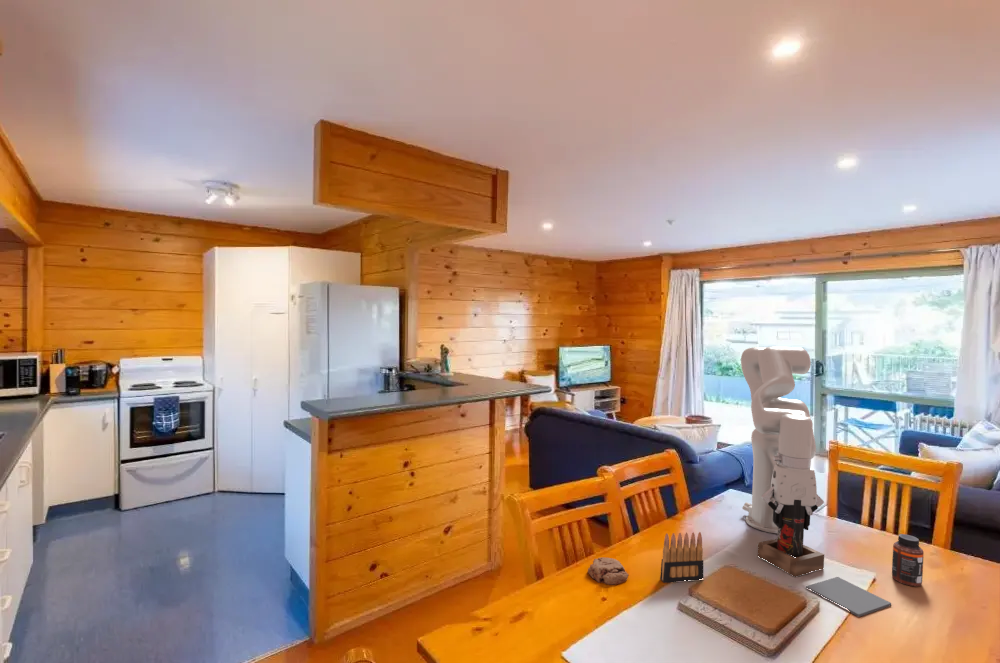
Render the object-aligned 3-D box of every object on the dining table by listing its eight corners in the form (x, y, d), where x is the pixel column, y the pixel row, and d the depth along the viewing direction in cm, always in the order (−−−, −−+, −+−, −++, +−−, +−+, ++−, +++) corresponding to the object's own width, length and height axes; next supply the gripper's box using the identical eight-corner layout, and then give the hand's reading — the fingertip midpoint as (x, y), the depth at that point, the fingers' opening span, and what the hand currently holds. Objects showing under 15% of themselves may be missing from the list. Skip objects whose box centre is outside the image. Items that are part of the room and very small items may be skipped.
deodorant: (808, 554, 128) (810, 499, 128) (788, 556, 127) (791, 500, 127) (790, 544, 134) (793, 491, 133) (772, 545, 133) (774, 492, 132)
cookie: (622, 564, 128) (622, 553, 128) (632, 587, 117) (632, 575, 117) (584, 563, 128) (584, 552, 128) (591, 585, 118) (591, 573, 117)
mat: (805, 588, 118) (806, 586, 118) (837, 579, 123) (837, 576, 123) (858, 617, 107) (858, 614, 107) (891, 605, 112) (891, 603, 112)
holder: (757, 556, 133) (757, 542, 133) (784, 550, 138) (785, 536, 137) (795, 577, 123) (796, 561, 123) (823, 569, 127) (824, 554, 127)
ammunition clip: (663, 583, 119) (665, 535, 119) (660, 579, 121) (661, 531, 120) (703, 580, 121) (705, 533, 120) (699, 576, 122) (701, 530, 122)
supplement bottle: (928, 589, 119) (930, 544, 119) (900, 586, 120) (902, 541, 120) (912, 576, 125) (914, 533, 125) (886, 573, 126) (888, 530, 126)
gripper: (766, 463, 127) (763, 530, 128) (836, 467, 125) (832, 535, 126) (754, 455, 134) (751, 518, 135) (820, 458, 132) (817, 523, 133)
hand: (790, 526), depth 130 cm, fingers closed on deodorant, 6 cm apart
